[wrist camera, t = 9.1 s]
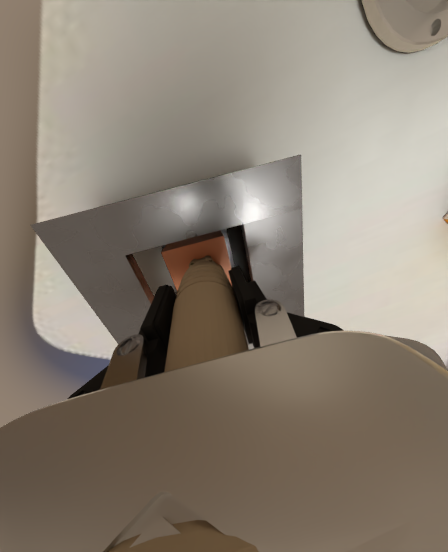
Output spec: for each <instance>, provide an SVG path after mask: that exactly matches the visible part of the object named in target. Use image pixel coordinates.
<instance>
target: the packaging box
mask: <svg viewBox="0 0 448 552" xmlns="http://www.w3.org/2000/svg"><path fill="white" fill-rule="evenodd" d="M443 219H444V220H445V221H446V222H447V223H448V213H447V214H446V215H445V216H444V217H443Z"/></svg>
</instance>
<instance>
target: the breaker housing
mask: <svg viewBox="0 0 448 552" xmlns="http://www.w3.org/2000/svg"><path fill="white" fill-rule="evenodd" d="M238 225H241V228H242V233H243V239H244V244H245V250H246V255H247V261H248V266H249V272H250V277H251V281H256V283H257V284H258V286H259V287H260V289H261V291H262V292H263V294H264V296H265V297H266V299H267V300H268V299H272V300H277V301H279V302H281V303H282V304H283V305H284V307H285V310H286V312H288V313H291V314H295V315H299V316H303V317H304V283H303V232H302V180H301V155H297V156H293V157H289V158H286V159H282V160H278V161H274V162H270V163H266V164H263V165H259V166H255V167H251V168H247V169H243V170H240V171H236V172H232V173H228V174H224V175H220V176H217V177H213V178H209V179H205V180H201V181H197V182H194V183H190V184H186V185H182V186H178V187H174V188H170V189H167V190H163V191H159V192H155V193H151V194H147V195H144V196H140V197H136V198H132V199H128V200H124V201H121V202H117V203H113V204H109V205H105V206H101V207H98V208H94V209H90V210H86V211H82V212H78V213H75V214H71V215H67V216H63V217H59V218H55V219H52V220H48V221H44V222H40V223H36V224H33V225H31V226H32V228H33V229H34V231H35V232H36V233H37V235H38V236H39V237H40V239H41V240H42V241H43V243H44V244H45V246H46V247H47V248H48V250H49V251H50V252H51V254H52V255H53V256H54V258H55V259H56V260H57V262H58V263H59V264H60V266H61V267H62V269H63V270H64V271H65V273H66V274H67V275H68V277H69V278H70V279H71V281H72V282H73V283H74V285H75V286H76V287H77V289H78V290H79V291H80V293H81V294H82V296H83V297H84V298H85V300H86V301H87V302H88V304H89V305H90V306H91V308H92V309H93V310H94V312H95V313H96V314H97V316H98V317H99V319H100V320H101V321H102V323H103V324H104V325H105V327H106V328H107V329H108V331H109V332H110V333H111V335H112V336H113V337H114V339H115V340H116V342H117V343H118V344H119V343H121V342H122V341H123V340H124V339H126V338H128V337H130V336H132V335H136V334H138V333H139V331H140V328H141V325H142V323H143V321H144V319H145V317H146V314H147V312H148V310H149V308H150V306H151V303H152V301H153V299H154V296H153V294H152V292H151V290H150V288H149V286H148V284H147V282H146V280H145V278H144V276H143V274H142V272H141V270H140V268H139V266H138V264H137V262H136V260H135V258H134V256H133V253H136V252H140V251H144V250H148V249H151V248H155V247H159V246H162V247H163V249H164V247H165V246H166V244H170V243H174V242H178V241H181V240H185V239H189V238H193V237H196V236H200V235H204V234H208V233H212V232H215V231H219V230H221V232H222V234H223V235H224V239H225V243H226V247H227V252H228V256H229V260H230V265H231V268H232V267H235V265H234V261H233V256H232V252H231V247H230V243H229V238H228V234H227V228H230V227H234V226H238ZM244 331H245V330H244ZM245 335H246V333H245ZM246 339H247V336H246ZM247 344H248V345H249V342H248V339H247ZM252 344H253V343H252Z"/></svg>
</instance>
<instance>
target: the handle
mask: <svg viewBox="0 0 448 552" xmlns="http://www.w3.org/2000/svg"><path fill="white" fill-rule="evenodd" d="M246 350H249V348H248V344H247V339H246V335H245V331H244V327H243V322H242V318H241V314H240V310H239V306H238V303H237V299H236V296H235V294H234V291H233V288H232V286H231V283H230V281H229V279H228V277H227V275H226V274H225V272H224V269H223V268H222V266H221V265H218V264H217V263H215V262H214V261H213V260H212V258H211V256H205V257H203V258H201V259H193V260H192V261H191V262H190V263H189V268H188V270H187V271H186V272H185V274H184V276H183V278H182V280H181V283H180V285H179V288H178V291H177V295H176V299H175V303H174V307H173V314H172V321H171V329H170V336H169V343H168V350H167V357H166V364H165V371H164V372H167V371H171V370H175V369H178V368H182V367H186V366H189V365H193V364H197V363H201V362H204V361H208V360H212V359H216V358H219V357H223V356H227V355H231V354H235V353H239V352H242V351H246ZM172 525H173V526H174V527H175V528H176V529H177V530H178V531H179V532H180V534H174V535H168V536H163V537H157V538H154V539H151V540H148V541H146V542H143V543H140V544H138V545H135V546H133V547H130V546H131V545H132V544H133V543H134V542H135V541H136V539H137V538H138V537H139V536H140V535H141V534H139V535H137V536H134V537H132V538H129V539H126V540H124V541H122V542H121V543H119V544H117V545H116V546H114V547H112V548H111V549H110V550H109V551H108V552H259V551H258V549H257V548H256V546H254V545H252V544H250V543H248V542H246V541H244V540H242V539H240V538H238V537H236V536H229V535H225V534H223V533H222V532H221V531H219V530H218V529H217V528H215V527H214V526H213V525H211V524H210V523H209V522H207V521H206V520H194V521H188V522H182V523H176V524H172ZM129 547H130V548H129Z"/></svg>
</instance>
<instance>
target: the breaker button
mask: <svg viewBox="0 0 448 552" xmlns="http://www.w3.org/2000/svg"><path fill="white" fill-rule="evenodd" d="M161 254H162V256H163V259H164V261H165V263H166V266H167V268H168V270H169V273H170V275H171V278H172V280H173V282H174V285H175V287H176V289H177V291H178V288H179V285H180V283H181V280H182V278H183V276H184V274H185V272H186V271H187V270H188V268H189V263H190V262H191V261H192V260H193V259H201V258H203V257H205V256H211V258H212V260H213V261H214V262H215V263H217V264H218V265H221V266H222V268H223V269H224V272H225V274H226V275H227V277H228V279H229V281H230V283H231V280H230V276H229V272H228V271H229V270H231V265H230V260H229V256H228V252H227V247H226V243H225V239H224V235H223V234H222V232H221V230H219V231H215V232H212V233H208V234H204V235H200V236H196V237H193V238H189V239H185V240H181V241H178V242H174V243H170V244H166V246H165V247H164V249H163V250H162V252H161ZM231 286H232V284H231Z"/></svg>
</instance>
